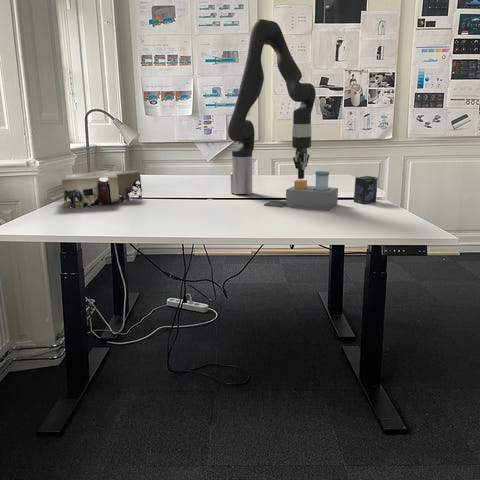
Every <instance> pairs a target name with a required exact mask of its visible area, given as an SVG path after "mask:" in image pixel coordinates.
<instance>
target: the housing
mask: <svg viewBox="0 0 480 480" xmlns="http://www.w3.org/2000/svg"><path fill="white" fill-rule="evenodd" d="M315 188H316V185H315V186H314V185H313V186H312V185H307V188H305V189H295V188H294V186H291V187H288V188H286V189H285V202H286V205H285V207H289V208H296V209H297V208H298V209H308V210H317V211H318V210H320V211H330V210H332V209H333V208H334V207H335V208H336V206H338V203H339V202H338V200H339V198H338V196H339V195H338V194H339V187H333V186H332V187H329V186H328V191H317V190H315Z"/></svg>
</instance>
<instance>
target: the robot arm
mask: <svg viewBox="0 0 480 480" xmlns="http://www.w3.org/2000/svg"><path fill="white" fill-rule="evenodd" d="M264 45H267V46H270V47H271V49H273V51H274V52H275V54H276V63H277V65H276V66H277V68H278V71H279V73H280V75H281V77H282V78H283V80H284V81H285V86H286V89H287V93H288V96H289V98H290V99H291V100H292V101H293V102H295V103H300V105H299V107H298V108H295V109H294V110H293V113H292V117H293V119H292V134H291V135H292V137H291V138H292V140H291V141H292V142H291V143H292V145H291V147H292V148H293V149H295V153H294V154H295V156H294V157H293V163H294V166H295V169H296V170H297V180H305V170H306V168H307V166H308V163H309V160H310V154H309V153H308V149H309V148H310V149H311V148H312V112H313V107H314V104H315V101H316V94H317V93H316V88H315V86H314V85H313V84H312V83H310V82H309V83H308V82H307V83H306V82H304V83H302V82H300V81H301V80H302V77H303V73H302V72H301V70H300V68H299V66H298V64H297V63H296V60H294V58H293V56H292V54H291V52H290V50H289V47H288V44H287V42H286V39H285V37H284V34H283V31H282V29H281V27H280V25H279V24H278V23H277V22H276V21H273V20H268V19H263V18H258V19H256V20H255V21H254V23H253V25H252V28H251V31H250V35H249V43H248V48H247V49H248V51H247V56H246V60H245V65H244V70H243V73H242V76H241V77H242V78H241V81H240V87H239V91H238V95H237V97H236V103H235V106H234V110H233V112H232V115H231V118H230V119H229V120H230V121H229V124H228V128H227V136H228V138H229V139H230V141H232V142H238V143H237V146H236V147H235V148H233V149H232V150H231V159H232V160H231V169H232V170H231V171H232V172H231V173H230V194H231V193H234V194H233V195H236V194H248V195H251V194H253V151H254V148H255V127H254V124H253V122H252V121H251V120H249V119H247V116H248V113H249V111H250V110H251V108H252V107H253V106H254V104H255V103H256V101H257V100H258V99H259V97H260V95H261V92H262V88H263V86H264V85H263V84H264V83H265V82H264V81H265V75H264V69H263V64H262V54H263V49H264Z"/></svg>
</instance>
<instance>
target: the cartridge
mask: <svg viewBox="0 0 480 480" xmlns="http://www.w3.org/2000/svg"><path fill="white" fill-rule="evenodd" d="M314 173H315V186H316V188H315V190H317V191H328V187H329V176H330V172H329V171H327V170H317V171H315V172H314Z"/></svg>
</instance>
